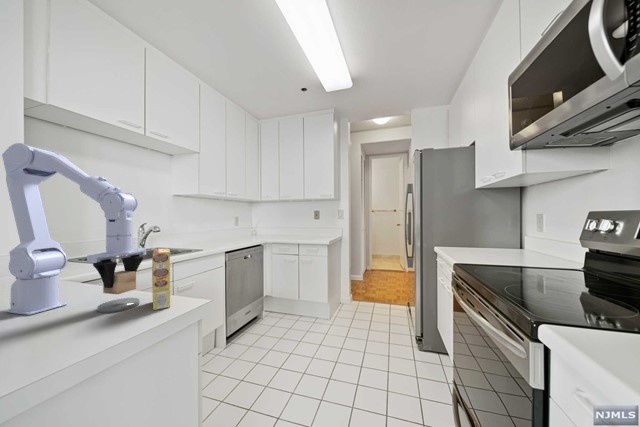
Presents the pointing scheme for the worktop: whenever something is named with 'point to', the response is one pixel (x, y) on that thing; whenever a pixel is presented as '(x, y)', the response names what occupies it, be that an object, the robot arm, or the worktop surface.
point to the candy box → (161, 278)
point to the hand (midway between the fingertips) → (119, 284)
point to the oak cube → (122, 282)
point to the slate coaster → (118, 305)
